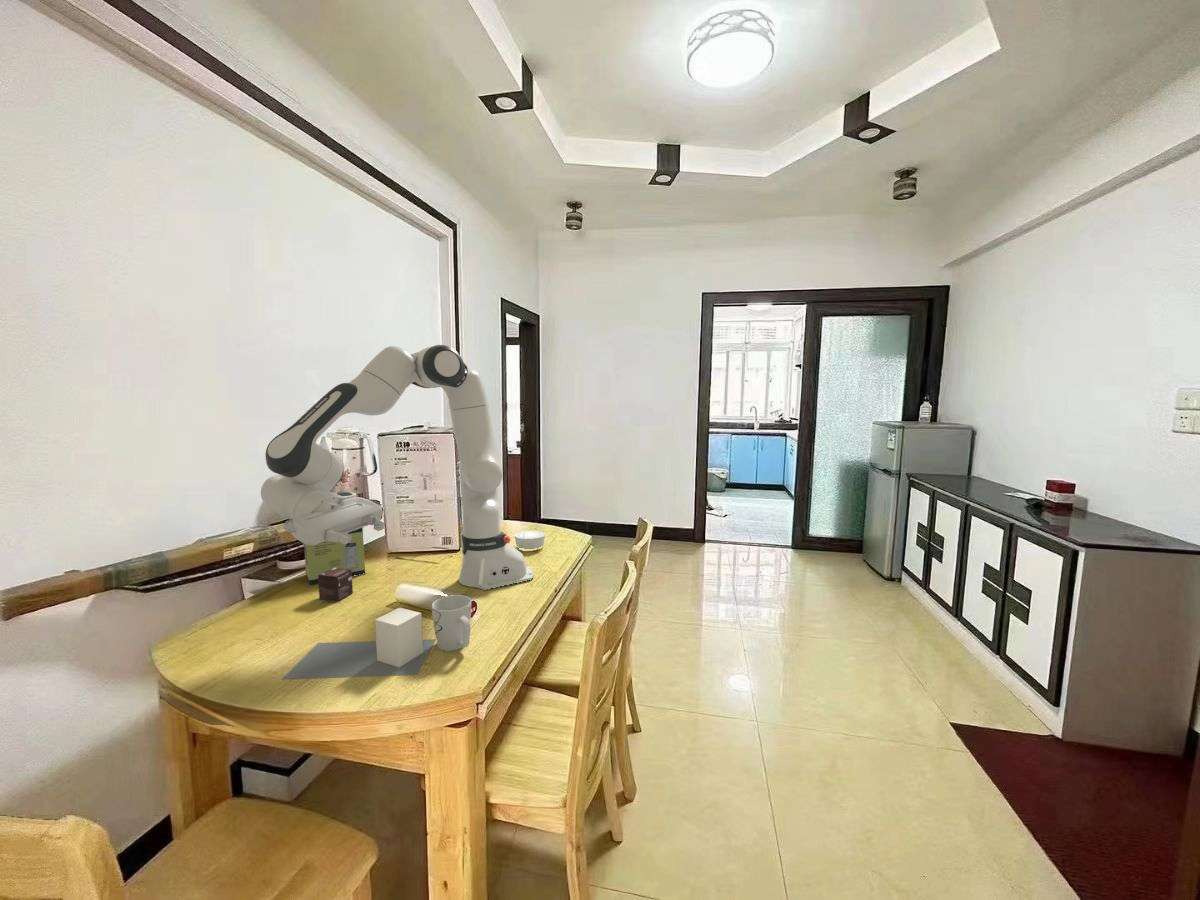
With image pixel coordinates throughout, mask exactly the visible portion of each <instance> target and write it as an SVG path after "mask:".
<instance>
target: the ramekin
mask: <svg viewBox="0 0 1200 900" xmlns="http://www.w3.org/2000/svg"><path fill="white" fill-rule="evenodd" d="M514 539H515V544H516V547H517V546H518V547H519V548H524V549H534V548H539V547H541V546H543V547H544V544H545V539H546V533H545V532H544V531H541V530H524V531H520V532H517V533H515V534H514Z"/></svg>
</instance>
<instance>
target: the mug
mask: <svg viewBox="0 0 1200 900" xmlns="http://www.w3.org/2000/svg"><path fill="white" fill-rule="evenodd" d="M431 613H432V615H431V616H432V624H433V629H434V635H435V639H436V643H437V647H438V648H439V649H440V650H443V651H445V652H446V651H447V652H448V651H450V652H451V651H456V650H457V651H458V650H461V649H464V648H467V647H469V645H470V638H471V637H470V636H471V618H472V600H471V598H470V597H469V596H466V595H463V594H453V595H452V594H451V595H445V596H442V597H439V598H437V599H436V600H434V601H433V602H432V604H431Z"/></svg>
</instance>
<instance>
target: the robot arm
mask: <svg viewBox="0 0 1200 900" xmlns="http://www.w3.org/2000/svg"><path fill="white" fill-rule="evenodd" d="M411 384H412V385H414V386H416V387H418V388H423V389H437V388H441V389H442V390H443V391H444V393H445V394H446V396H447V399H448V405H449V411H450V417H451V423H452V428H453V435H454V439H455V442H456V447H457V452H458V456H459V460H460V463H459V476H460V477H459V478H460V480H459V481H460V495H461V507H462V510H461V511H462V534H461V541H460V543H461V544H460V545H461V546H460V547H461V549H462V552H461V553H462V561H461V569H460V574H459V577H458V582H459V584H461V585H463V586H466V587H469V588H478V589H480V590H484V591H486V590H487V589H488V590H492V589H491V588H493V589H497V588H496V587H498V588H501V587H500V586H502V587H505V586H504V585H507V586H509V585H508V584H512V585H514V584H513V583H517V582H521V581H526V580H530V579H532V578H533V579H534V577H533V574H534V570H533V569H532V567H530V566H529V565H528V564H527V562H526V559H525V557H524V555H523V553H522V551H520V550H519V549H517V548H515V547H514V546H512V545H511V544H510V542H511V537H510V536H509V535H508V534H507V533H506V532H504V531H501V506H500V499H499V491H498V487H499V486H500V484H501V482H502V481H503V469H502V468H503V467H502V464H501V459H500V455H499V449H498V446H497V442H496V437H495V433H494V429H493V424H492V419H491V417H492V416H491V413H490V406H489V401H488V396H487V392H486V388H485V384H484V382H483V380H482V378H481V375H480V374H479V373H478V372H477V371H476V370H475V369H472V368H468V366H467V365H466V363H465V362H464V360H463V358H462V356H461V355H460V354H459V352H458V351H457V350H456V349H454V348H453V347H451V346H449V345H444V344H436V345H434V346H428V347H425V348H423V349H421V350H419V351H418V352H414V353H410V352H408V351H407V350H405V349H404V348H402V347H400V346H396V345H395V346H394V345H389V346H387V347H384V348H383V349H382V350H381V351H380V352H379V353H377V354H376V355H375V357H373V358H372V359H371V360H370V361H369V362H368V363H367V365H365V366H364V368H363V369H362V370H361V372H360V373H359V374H358V375H357V376H356V377H354V379H351V380H350V381H349V382H343V383H340V384H338V385H336V386H334V387H333V388H331V390H329V391H328V392H326V394H324V395H323V396H322V397H321V398H320V399H319V400H317V401H316V403H314V405H312V406H311V407H310V408H308V410H306V412H305V413H304V414H303V415H302V416H301V417H299V419H297V420H296V421H295V422H294V423H293V424H292V425H291V426H289V427H288V428H287V429H284V431H282V432H281V433H279V434H278V435H276V436H275V437H274V438H273V439H272V440H270V441H269V443H268V445H267V447H266V449H265V462H266V466H267V468H268V469H269V470H270V471H271V472H272V473H275V474H274V475H272V476H269V477H268V478H267V479H265V480H264V482H263V484H262V486H261V487H260V497H261V499H262V502H263V504H264V505H266V507H267V508H269V509H270V510H271V511H273V512H274V513H275V514H276V513H277V514H278V515H279V516H281V517H283V518H286V519H288V520H286V521H285V523H283V524H282V529H283V530H285V531H287V532H288V533H291V535H292V536H293V537H294V538H295V539H296V540H298V541H299V542H301V544H303V545H304V544H306V545H316V544H319V543H321V542H324V541H332V542H341V543H343V544H347V543H349V542H351V538H352V536H351V535H350V534H348V533H349V532H351V531H354V530H357V529H360V528H362V527H363V528H364V527H368V526H373V530H375V531H377V532H380V531H382V530H384V529H385V525H386V524H385V523H384V522H383V521H381V520H382V516H383V508H382V506H381V505H380V504H378V503H375V502H374V501H371V500H369V499H366V498H363V497H359V496H357V494H356V493H355V492H354V491H353V492H352V491H345V492H344V491H343V492H332V491H333V490H334V489H335V487H336V486H338V484H339V483H340V481H341V479H342V477H343V474H344V462H343V460H342V459H341V458H340V457H338V456H337V455H335V454H334V453H332V452H331V451H329V450H328V449H325V448H324V447H322V446H320V445H319V444H318V443H317V441H318V439H319V438H320V437H321V436H322V435H324V433H325V432H326V431H327V430H328V429H329V428H330V427H331V426H332V425H333V424H334V423H335V422H336V421H337V420H339V418H340V417H342V416H343V415H344V416H345V415H346V414H351V413H353V414H354V413H355V414H359V415H364V416H365V415H366V416H380V415H383V414H384V415H385V414H386V413H387V412H389V411H390V410H391V409H393V407H394V406H395V405H396V403H397V402H398V401H399V400H400V398H401V396H402V395H403V393H404V392H405V390H406V389H407V388H408V387H410V385H411ZM533 579H532V580H533ZM530 581H531V580H530ZM526 582H527V581H526ZM521 583H522V582H521ZM517 584H518V583H517Z"/></svg>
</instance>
